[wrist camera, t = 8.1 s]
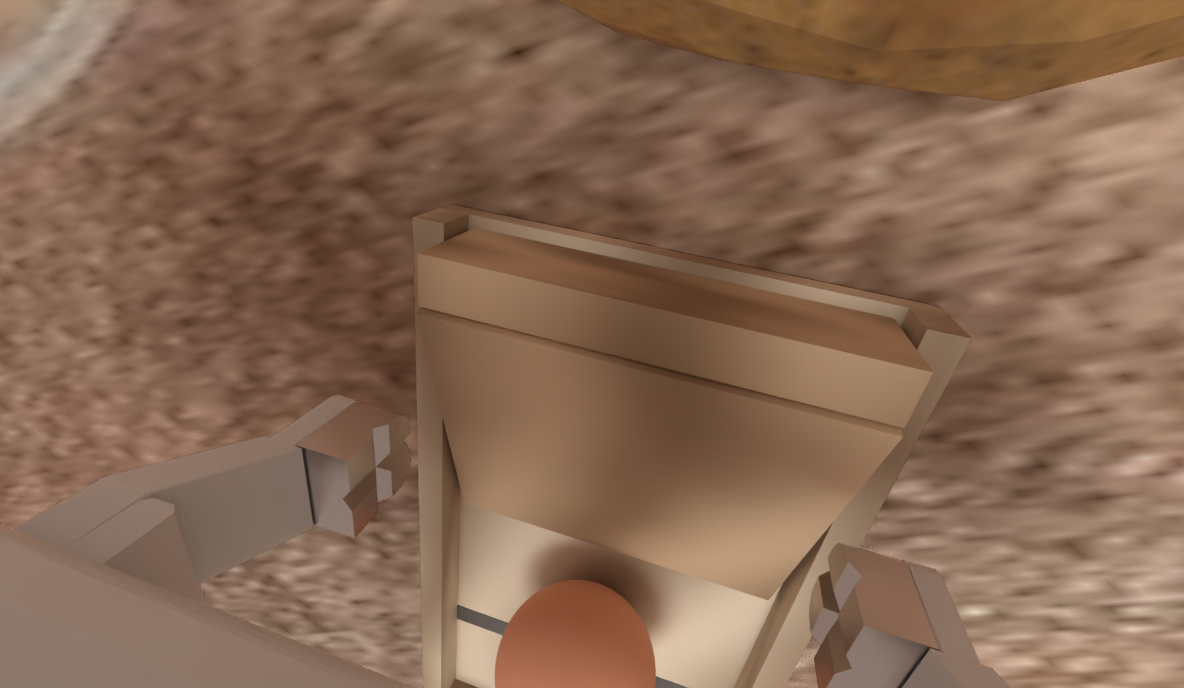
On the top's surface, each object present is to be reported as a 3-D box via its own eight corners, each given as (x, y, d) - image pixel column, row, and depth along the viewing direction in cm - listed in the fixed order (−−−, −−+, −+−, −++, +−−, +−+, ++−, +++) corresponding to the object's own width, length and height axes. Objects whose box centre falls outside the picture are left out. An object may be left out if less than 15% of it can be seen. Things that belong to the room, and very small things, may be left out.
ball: (488, 720, 17) (537, 568, 19) (630, 776, 16) (664, 610, 18) (446, 750, 12) (516, 550, 15) (636, 828, 12) (680, 603, 14)
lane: (446, 670, 23) (397, 762, 20) (452, 204, 13) (361, 233, 10) (710, 773, 21) (704, 893, 18) (938, 305, 11) (1016, 383, 8)
